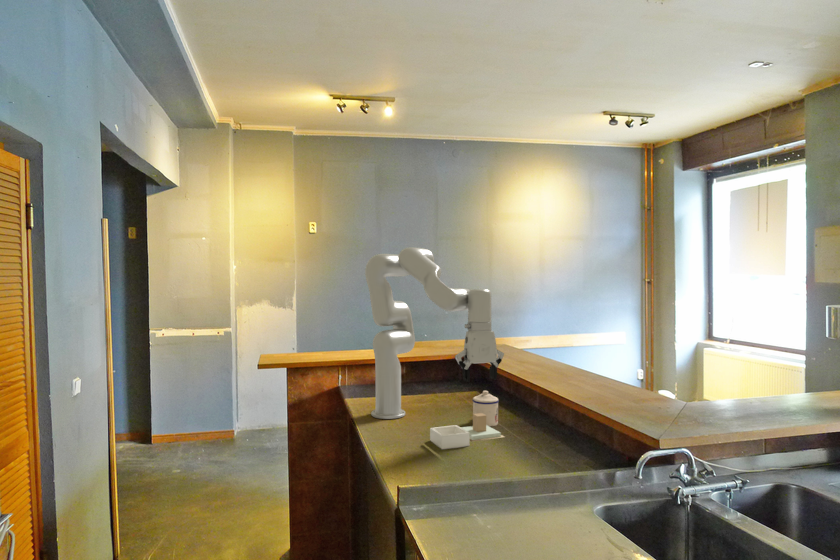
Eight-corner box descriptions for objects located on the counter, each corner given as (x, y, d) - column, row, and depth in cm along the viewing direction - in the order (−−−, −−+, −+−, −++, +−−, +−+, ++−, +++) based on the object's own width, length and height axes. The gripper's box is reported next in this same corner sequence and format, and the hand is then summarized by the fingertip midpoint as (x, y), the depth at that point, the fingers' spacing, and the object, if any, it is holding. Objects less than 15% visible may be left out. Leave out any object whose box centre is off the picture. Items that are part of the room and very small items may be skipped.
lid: (458, 431, 169) (458, 412, 169) (485, 428, 173) (485, 409, 173) (472, 440, 160) (472, 420, 160) (500, 436, 164) (500, 417, 164)
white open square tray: (430, 442, 159) (430, 428, 159) (456, 439, 163) (456, 424, 163) (442, 451, 151) (442, 436, 151) (469, 447, 154) (469, 432, 154)
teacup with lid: (501, 427, 175) (501, 393, 175) (475, 428, 174) (475, 394, 174) (493, 418, 187) (493, 386, 187) (468, 419, 186) (468, 386, 186)
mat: (454, 432, 170) (454, 430, 170) (486, 428, 174) (486, 426, 174) (471, 443, 159) (471, 441, 159) (505, 438, 163) (505, 437, 163)
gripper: (460, 329, 160) (461, 384, 160) (509, 327, 166) (509, 380, 166) (450, 327, 167) (450, 380, 167) (497, 325, 173) (497, 376, 173)
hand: (479, 380), depth 166 cm, fingers open, 9 cm apart
